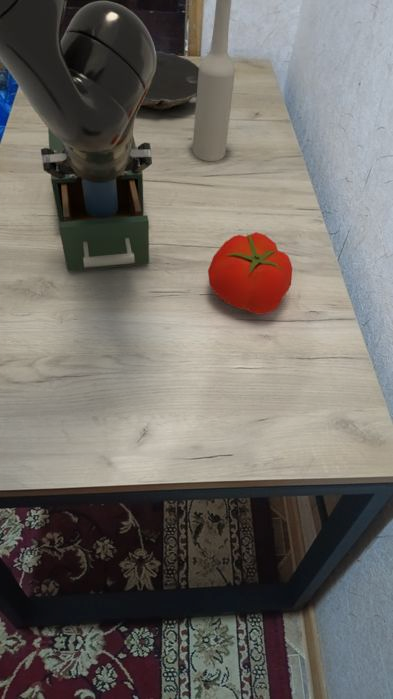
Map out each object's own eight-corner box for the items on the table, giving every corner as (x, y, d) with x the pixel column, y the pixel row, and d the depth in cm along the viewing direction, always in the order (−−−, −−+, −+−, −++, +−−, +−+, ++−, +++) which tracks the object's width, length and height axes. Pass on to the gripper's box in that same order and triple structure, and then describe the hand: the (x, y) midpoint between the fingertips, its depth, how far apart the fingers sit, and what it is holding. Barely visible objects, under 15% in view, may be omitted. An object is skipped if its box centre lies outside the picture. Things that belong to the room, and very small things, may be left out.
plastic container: (86, 220, 72) (78, 164, 64) (83, 199, 74) (76, 143, 67) (120, 217, 72) (116, 162, 65) (116, 197, 75) (112, 142, 68)
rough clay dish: (222, 94, 113) (225, 71, 109) (169, 133, 101) (169, 108, 97) (144, 65, 119) (144, 42, 115) (85, 99, 107) (83, 75, 103)
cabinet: (143, 226, 83) (142, 173, 75) (61, 233, 81) (51, 179, 72) (132, 176, 91) (130, 123, 83) (57, 180, 89) (48, 127, 81)
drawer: (153, 285, 74) (153, 242, 67) (69, 293, 71) (60, 250, 65) (137, 209, 84) (135, 166, 78) (63, 215, 82) (55, 170, 75)
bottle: (192, 160, 96) (204, -9, 74) (192, 142, 100) (203, -24, 78) (226, 162, 96) (248, -6, 74) (224, 143, 100) (244, -21, 78)
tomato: (195, 271, 77) (199, 228, 71) (269, 260, 80) (279, 218, 73) (219, 332, 70) (227, 291, 63) (299, 318, 73) (314, 277, 66)
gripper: (157, 102, 55) (144, 144, 72) (25, 107, 52) (42, 149, 69) (165, 171, 56) (150, 197, 73) (35, 179, 54) (50, 204, 70)
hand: (97, 173), depth 71 cm, fingers closed on plastic container, 5 cm apart
